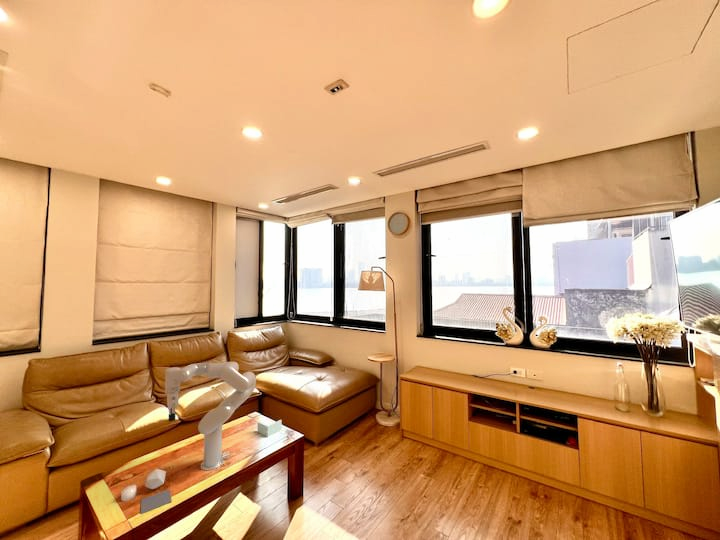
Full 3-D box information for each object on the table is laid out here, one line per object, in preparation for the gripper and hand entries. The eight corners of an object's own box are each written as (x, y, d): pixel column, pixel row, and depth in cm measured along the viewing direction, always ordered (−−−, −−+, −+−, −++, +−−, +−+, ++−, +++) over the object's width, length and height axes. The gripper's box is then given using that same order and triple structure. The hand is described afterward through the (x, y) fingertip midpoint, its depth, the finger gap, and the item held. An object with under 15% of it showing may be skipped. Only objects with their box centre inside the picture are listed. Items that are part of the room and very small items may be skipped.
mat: (169, 489, 149) (169, 488, 149) (171, 502, 140) (171, 501, 140) (141, 500, 142) (141, 499, 142) (140, 514, 133) (140, 513, 133)
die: (162, 480, 156) (162, 461, 156) (167, 487, 150) (168, 468, 151) (143, 489, 149) (143, 469, 150) (148, 497, 144) (148, 477, 144)
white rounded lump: (136, 491, 148) (136, 483, 148) (136, 498, 143) (136, 489, 143) (121, 496, 144) (121, 488, 145) (120, 503, 140) (120, 495, 140)
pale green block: (281, 430, 208) (281, 420, 209) (267, 437, 199) (267, 426, 199) (271, 425, 215) (271, 415, 216) (257, 432, 206) (257, 421, 206)
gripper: (181, 391, 166) (180, 423, 165) (178, 384, 177) (177, 414, 176) (166, 394, 161) (165, 427, 160) (164, 387, 173) (163, 417, 172)
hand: (171, 420), depth 168 cm, fingers closed
